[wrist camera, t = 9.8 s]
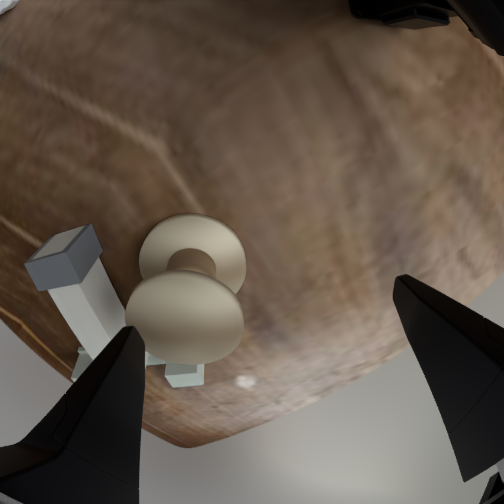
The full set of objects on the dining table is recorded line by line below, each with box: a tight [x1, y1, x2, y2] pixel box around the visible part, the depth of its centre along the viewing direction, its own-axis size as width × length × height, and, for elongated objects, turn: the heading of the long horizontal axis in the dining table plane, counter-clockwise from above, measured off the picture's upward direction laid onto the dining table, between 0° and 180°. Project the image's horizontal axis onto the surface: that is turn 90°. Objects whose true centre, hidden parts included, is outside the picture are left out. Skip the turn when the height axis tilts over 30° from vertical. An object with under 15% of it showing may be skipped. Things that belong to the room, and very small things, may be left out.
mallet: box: [24, 224, 149, 369], centre depth 21 cm, size 14×4×4 cm, turn 10°
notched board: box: [71, 347, 204, 387], centre depth 26 cm, size 3×14×4 cm, turn 100°
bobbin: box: [125, 213, 246, 365], centre depth 19 cm, size 8×8×7 cm
